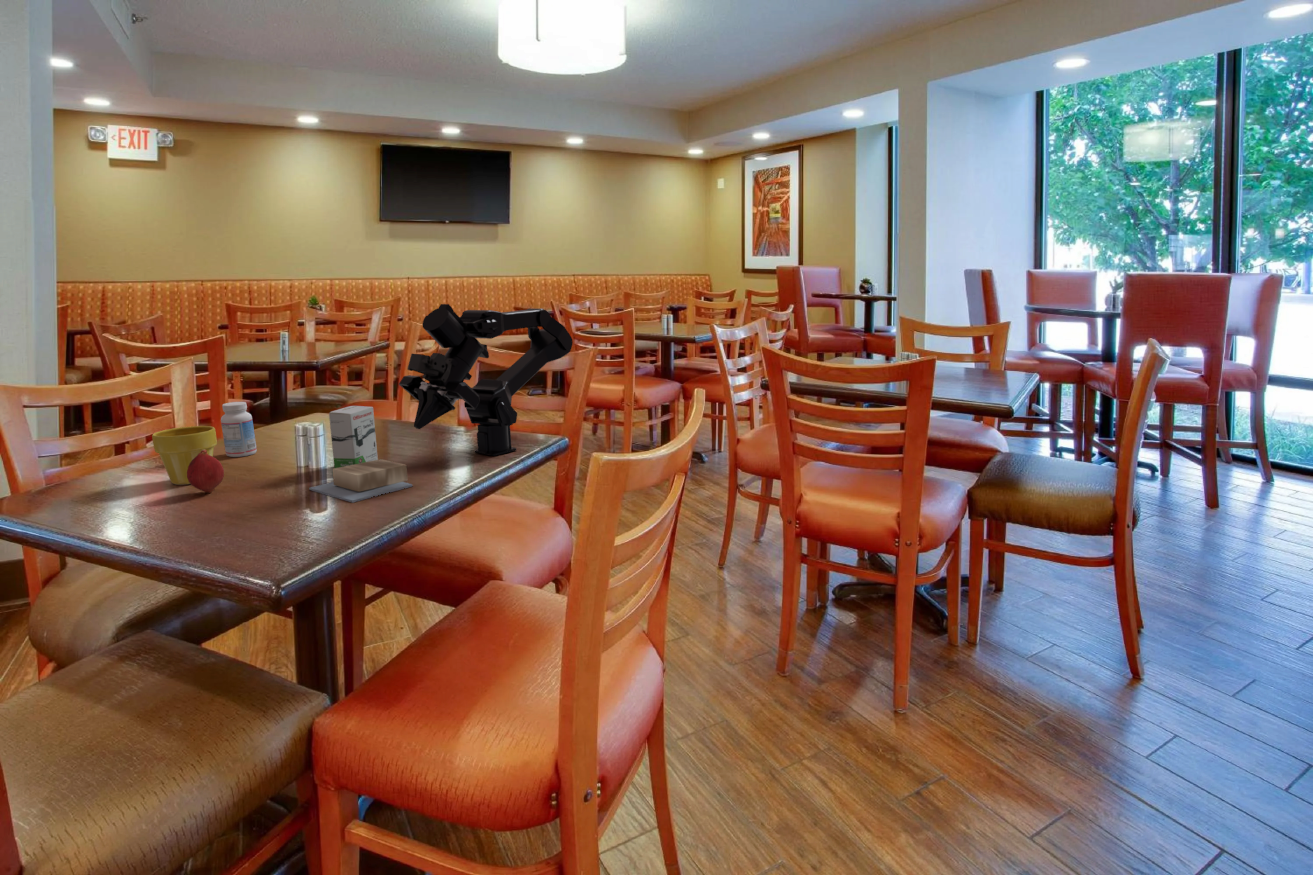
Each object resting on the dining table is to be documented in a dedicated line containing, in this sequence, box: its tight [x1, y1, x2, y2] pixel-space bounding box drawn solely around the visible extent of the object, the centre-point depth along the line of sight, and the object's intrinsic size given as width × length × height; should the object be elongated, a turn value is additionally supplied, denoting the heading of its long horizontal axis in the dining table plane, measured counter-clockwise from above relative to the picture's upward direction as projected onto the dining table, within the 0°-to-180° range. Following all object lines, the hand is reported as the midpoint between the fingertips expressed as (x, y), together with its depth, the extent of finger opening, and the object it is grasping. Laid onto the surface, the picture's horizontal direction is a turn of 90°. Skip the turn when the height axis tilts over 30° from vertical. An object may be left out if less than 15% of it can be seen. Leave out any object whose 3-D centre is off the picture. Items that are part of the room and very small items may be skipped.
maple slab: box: [332, 458, 408, 492], centre depth 147 cm, size 3×8×10 cm
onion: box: [187, 449, 225, 494], centre depth 144 cm, size 6×6×8 cm
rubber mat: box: [309, 481, 413, 503], centre depth 146 cm, size 12×14×1 cm
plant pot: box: [151, 425, 218, 486], centre depth 153 cm, size 10×10×10 cm
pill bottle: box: [220, 401, 258, 458], centre depth 173 cm, size 6×6×11 cm
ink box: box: [328, 405, 379, 469], centre depth 160 cm, size 9×5×12 cm, turn 168°
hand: (416, 427), depth 154 cm, fingers closed
